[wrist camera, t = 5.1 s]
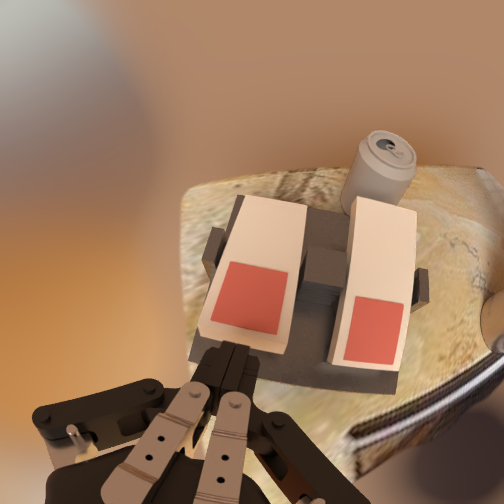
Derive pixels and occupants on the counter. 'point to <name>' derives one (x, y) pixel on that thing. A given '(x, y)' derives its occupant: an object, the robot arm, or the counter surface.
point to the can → (380, 170)
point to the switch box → (311, 310)
